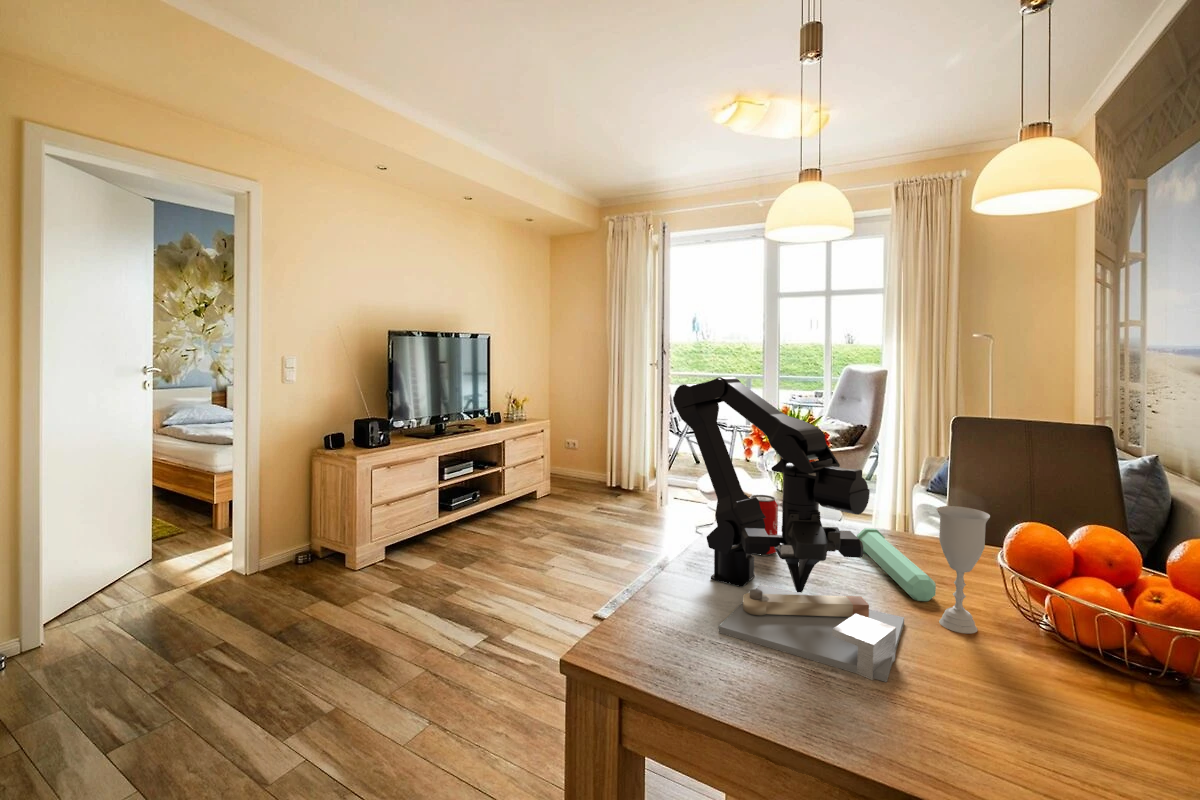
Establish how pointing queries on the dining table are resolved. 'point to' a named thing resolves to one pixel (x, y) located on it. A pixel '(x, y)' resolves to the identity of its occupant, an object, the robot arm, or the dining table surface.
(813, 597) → the latch arm
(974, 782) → the dining table surface
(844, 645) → the base board
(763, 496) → the soda can
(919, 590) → the green octagonal rod
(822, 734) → the dining table surface
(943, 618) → the chalice
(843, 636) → the block
